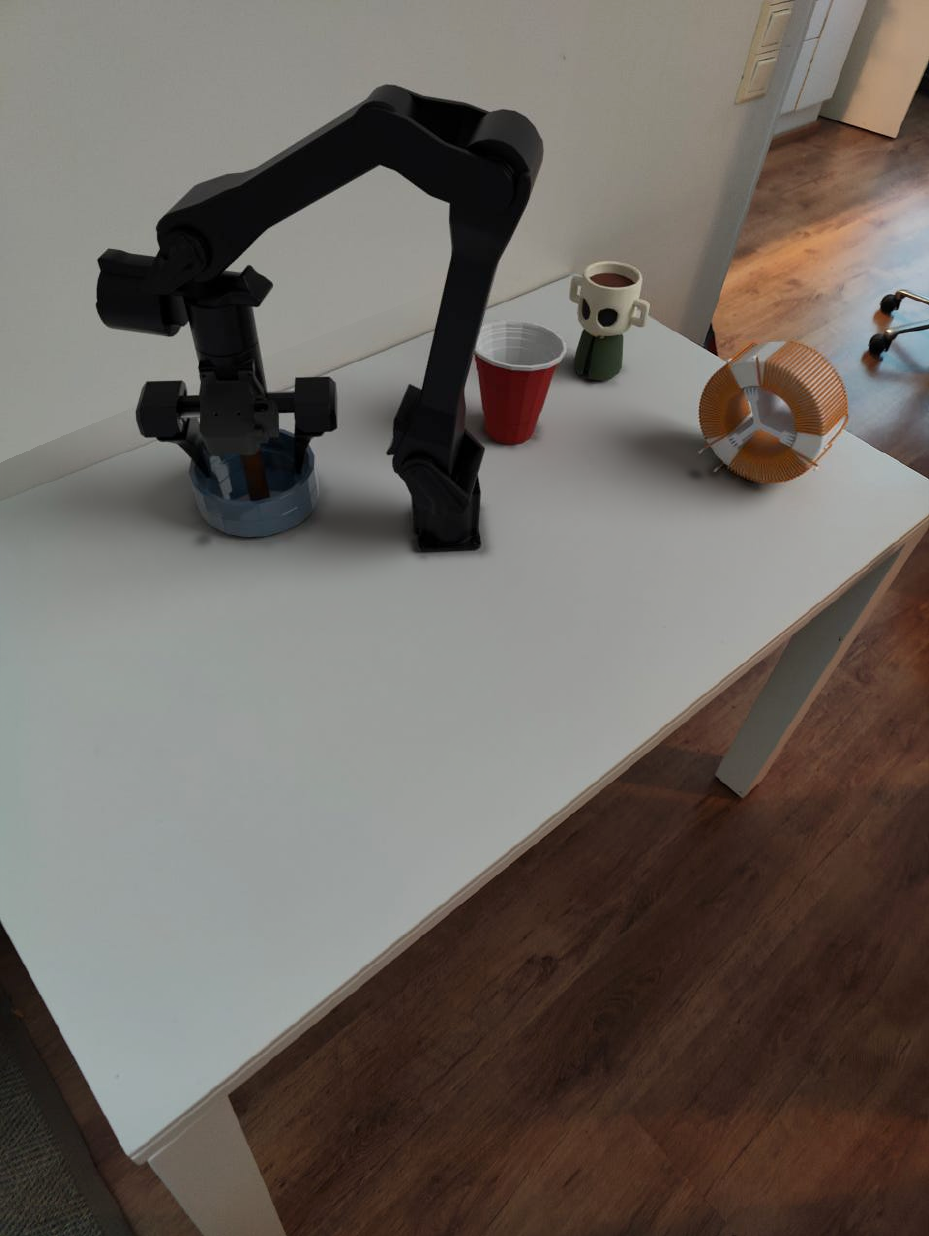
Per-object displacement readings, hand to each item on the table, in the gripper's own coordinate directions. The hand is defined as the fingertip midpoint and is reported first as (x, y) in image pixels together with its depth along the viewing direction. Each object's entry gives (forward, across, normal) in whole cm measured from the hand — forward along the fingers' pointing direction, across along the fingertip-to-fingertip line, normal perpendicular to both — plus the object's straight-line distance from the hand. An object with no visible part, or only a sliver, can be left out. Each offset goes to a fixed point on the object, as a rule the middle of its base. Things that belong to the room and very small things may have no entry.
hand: (254, 473), depth 86 cm
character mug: (+4, +42, +23) cm, 48 cm away
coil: (+4, +56, +2) cm, 56 cm away
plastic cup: (+4, +29, +11) cm, 31 cm away
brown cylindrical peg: (+3, 0, 0) cm, 3 cm away
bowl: (+4, 0, 0) cm, 4 cm away
